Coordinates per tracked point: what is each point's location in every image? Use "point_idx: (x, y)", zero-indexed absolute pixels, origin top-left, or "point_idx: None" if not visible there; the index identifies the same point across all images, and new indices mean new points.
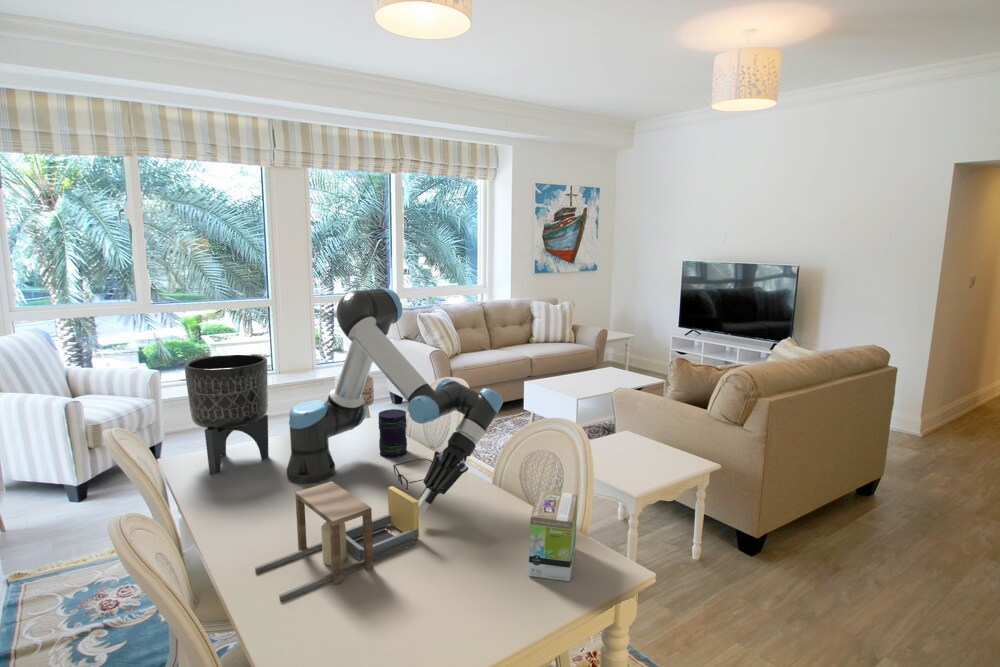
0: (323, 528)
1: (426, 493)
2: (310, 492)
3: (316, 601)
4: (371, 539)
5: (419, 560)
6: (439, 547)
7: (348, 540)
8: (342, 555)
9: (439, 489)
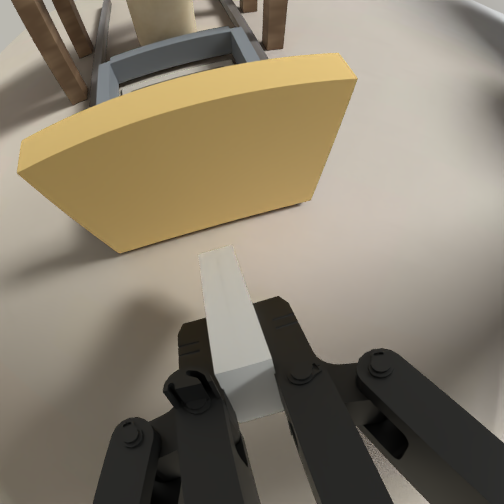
0: None
1: (222, 334)
2: None
3: (67, 37)
4: (38, 47)
5: (26, 217)
6: (44, 303)
7: (177, 37)
8: (138, 39)
9: (115, 433)
